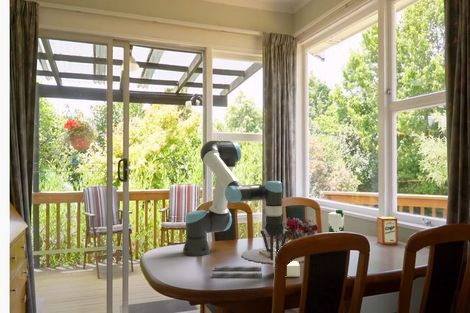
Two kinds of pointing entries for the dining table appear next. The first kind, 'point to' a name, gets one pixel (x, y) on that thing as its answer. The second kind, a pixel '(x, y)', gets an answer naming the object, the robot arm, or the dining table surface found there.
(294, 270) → the cream block
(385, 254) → the dining table surface
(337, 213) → the milk carton
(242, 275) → the twin grey rails
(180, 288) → the dining table surface
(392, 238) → the baking soda box
